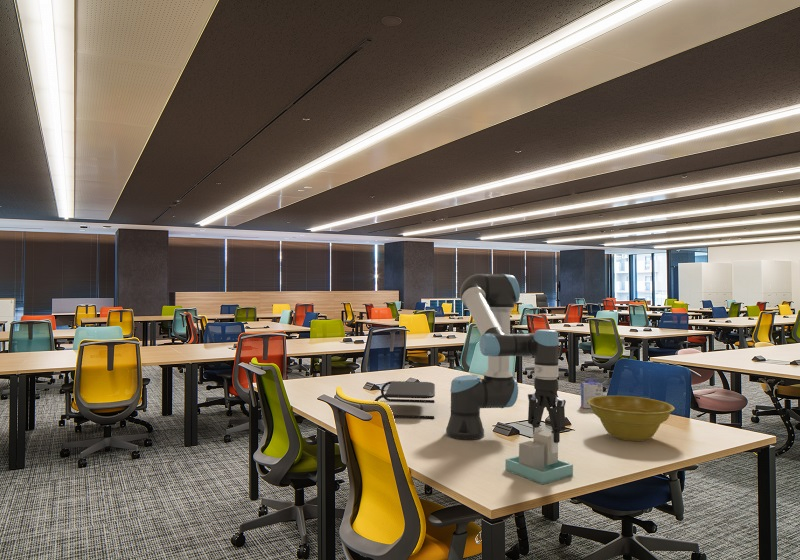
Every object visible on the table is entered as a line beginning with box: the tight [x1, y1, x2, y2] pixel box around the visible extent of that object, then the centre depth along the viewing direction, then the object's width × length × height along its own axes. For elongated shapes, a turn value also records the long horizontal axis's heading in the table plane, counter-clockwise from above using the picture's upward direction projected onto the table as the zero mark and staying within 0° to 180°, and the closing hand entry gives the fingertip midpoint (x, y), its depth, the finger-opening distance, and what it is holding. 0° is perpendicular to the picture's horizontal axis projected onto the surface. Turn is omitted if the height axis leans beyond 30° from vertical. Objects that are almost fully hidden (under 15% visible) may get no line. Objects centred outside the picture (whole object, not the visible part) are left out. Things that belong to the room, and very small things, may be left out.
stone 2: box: [532, 429, 559, 465], centre depth 172 cm, size 6×6×9 cm
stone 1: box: [518, 440, 544, 472], centre depth 168 cm, size 6×6×9 cm
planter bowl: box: [587, 395, 676, 442], centre depth 215 cm, size 32×32×13 cm
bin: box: [505, 455, 574, 485], centre depth 170 cm, size 15×14×4 cm
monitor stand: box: [374, 380, 436, 420], centre depth 259 cm, size 37×28×11 cm
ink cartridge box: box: [580, 377, 604, 409], centre depth 269 cm, size 10×6×14 cm, turn 89°
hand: (546, 449), depth 172 cm, fingers closed on stone 2, 6 cm apart
